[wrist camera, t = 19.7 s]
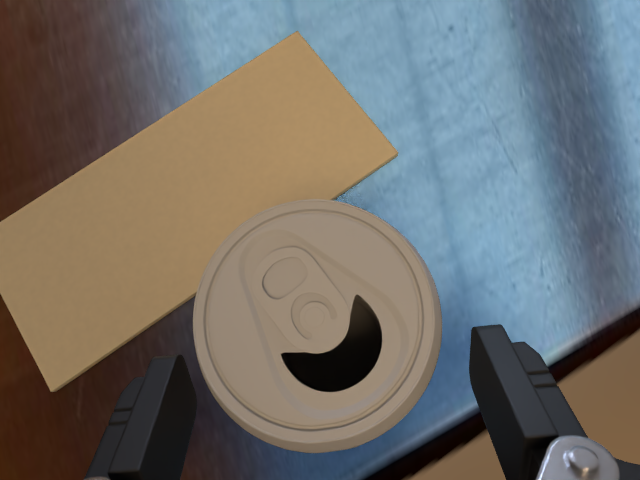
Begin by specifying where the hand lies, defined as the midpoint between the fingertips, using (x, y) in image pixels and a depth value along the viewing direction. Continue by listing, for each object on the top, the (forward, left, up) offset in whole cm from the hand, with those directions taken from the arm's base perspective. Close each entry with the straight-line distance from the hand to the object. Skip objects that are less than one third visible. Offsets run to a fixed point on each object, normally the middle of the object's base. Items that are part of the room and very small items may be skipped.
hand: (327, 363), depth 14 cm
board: (-1, +11, -9) cm, 14 cm away
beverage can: (0, +1, -9) cm, 9 cm away
